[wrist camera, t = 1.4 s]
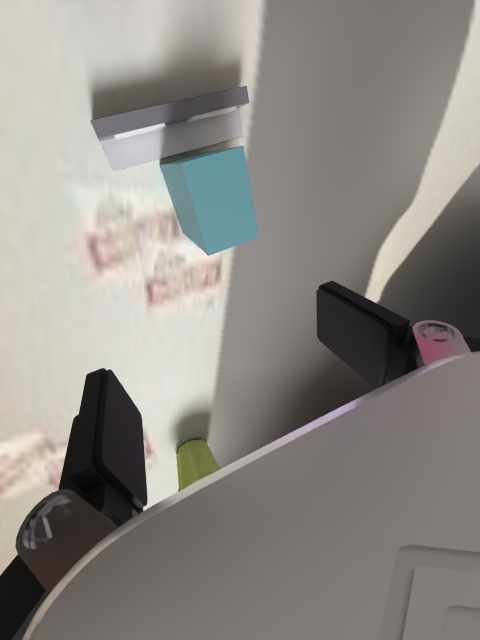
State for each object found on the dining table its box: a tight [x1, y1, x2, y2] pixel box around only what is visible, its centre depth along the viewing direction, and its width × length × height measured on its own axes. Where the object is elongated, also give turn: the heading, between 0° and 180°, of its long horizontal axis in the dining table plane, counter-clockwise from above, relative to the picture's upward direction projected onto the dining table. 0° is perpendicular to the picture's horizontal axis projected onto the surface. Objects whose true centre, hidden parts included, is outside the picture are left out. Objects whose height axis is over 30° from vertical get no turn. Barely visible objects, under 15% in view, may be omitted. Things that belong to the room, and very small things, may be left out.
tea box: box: [160, 146, 259, 256], centre depth 24 cm, size 5×7×10 cm
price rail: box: [90, 86, 249, 171], centre depth 24 cm, size 4×14×3 cm, turn 103°
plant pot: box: [177, 439, 221, 492], centre depth 46 cm, size 9×9×9 cm
